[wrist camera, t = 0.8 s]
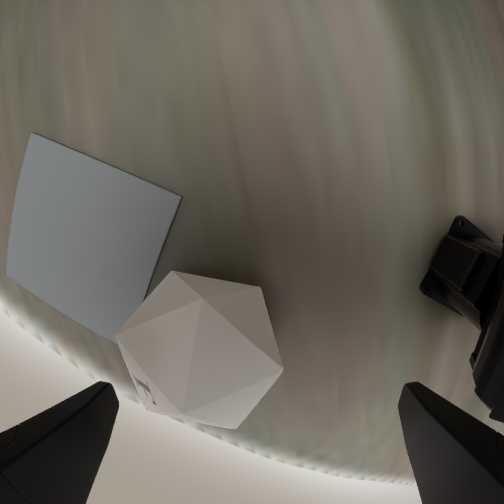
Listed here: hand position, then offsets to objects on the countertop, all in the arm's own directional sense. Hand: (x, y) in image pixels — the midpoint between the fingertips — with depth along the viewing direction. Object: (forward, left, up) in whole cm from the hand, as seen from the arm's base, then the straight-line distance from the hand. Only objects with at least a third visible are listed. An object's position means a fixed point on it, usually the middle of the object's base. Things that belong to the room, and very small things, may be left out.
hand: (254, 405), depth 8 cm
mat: (+13, +4, -13) cm, 19 cm away
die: (+1, +5, -13) cm, 14 cm away
